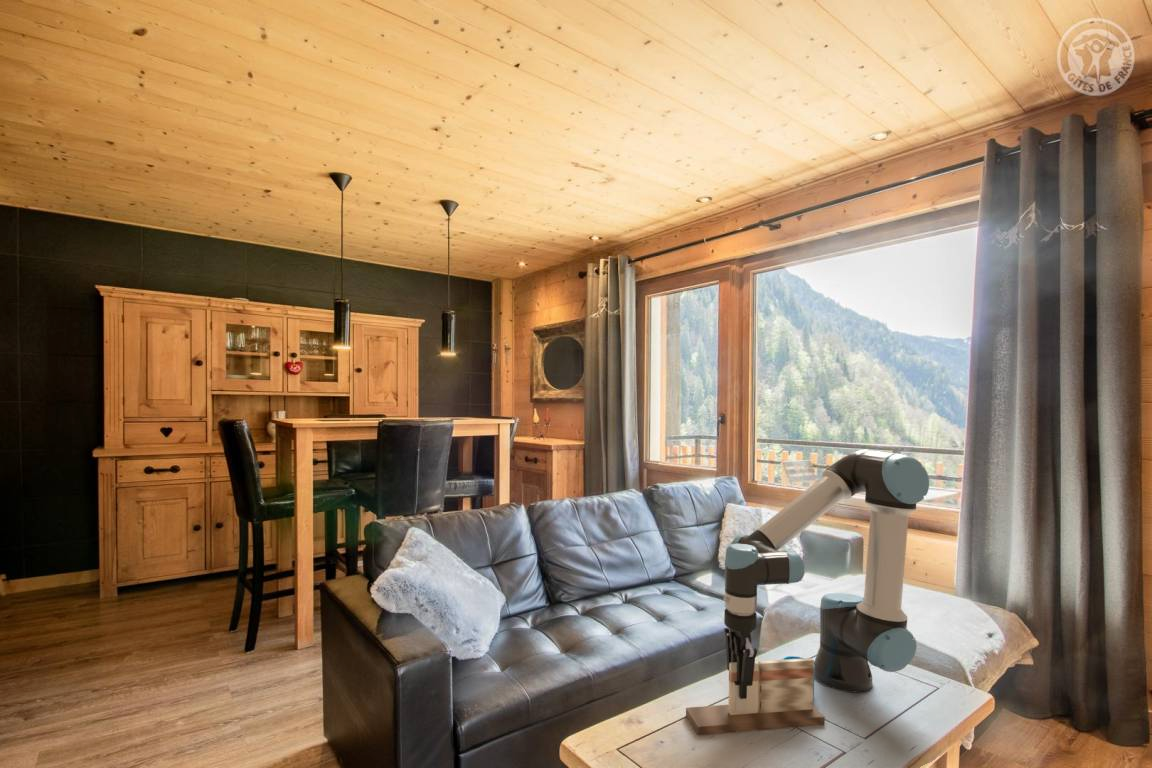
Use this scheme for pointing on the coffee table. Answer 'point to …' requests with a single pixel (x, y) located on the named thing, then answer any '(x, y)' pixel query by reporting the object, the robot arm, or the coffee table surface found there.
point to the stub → (751, 691)
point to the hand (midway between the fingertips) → (738, 707)
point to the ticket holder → (767, 702)
